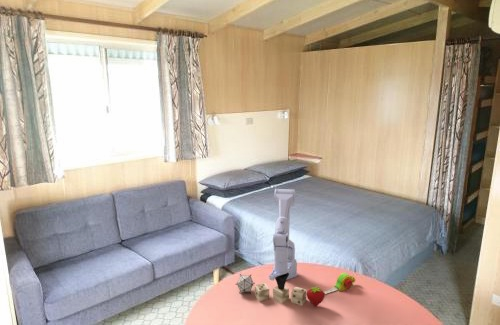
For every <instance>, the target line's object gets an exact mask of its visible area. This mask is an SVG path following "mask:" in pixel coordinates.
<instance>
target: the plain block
mask: <svg viewBox="0 0 500 325" xmlns="http://www.w3.org/2000/svg"><path fill="white" fill-rule="evenodd" d="M272 299H273V300H275V301H276V302H278V303H280V304H283V303H285V302H286V301H288V300H289V299H290V287H287V286H286V285H285V286H284V289H283V290H281V289H278V285H277V286H275V287H273V288H272Z"/></svg>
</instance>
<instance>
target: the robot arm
mask: <svg viewBox="0 0 500 325" xmlns="http://www.w3.org/2000/svg"><path fill="white" fill-rule="evenodd" d="M273 198H274V199H273V200H274V203H275V205H276V206H278V217H277V219H276V221H275V228H274V229H275V231H274V233H273V237H272V245H273V253H274V254H273V257H274V258H273V259H274V265H273V267H272V271H271V272H270V274H269V276H268V279H269V280H271V281H272V282H273V281H276V284H277V286H278V289H281V290H283V289H284V286H285V287H286V282H287V281H288V280H290V279H293V278H295V277H298V275H299V274H298V273H297V271H298V270H297V269H298V268H297V266H298V265H297V263H298V262H297V259H296V258H295V256H296V248H295V242H293V241H292V240H291V239H290V216H291V215H290V213H291V212H290V211H291V207H293V206H295V204H296V190H295V189H294V188H293V189H288V188H284V189H283V188H275V189H274V193H273Z"/></svg>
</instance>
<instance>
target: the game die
mask: <svg viewBox="0 0 500 325" xmlns="http://www.w3.org/2000/svg"><path fill="white" fill-rule="evenodd" d="M235 285H236V286H237V287H238V290H239V294H240V293H249V294H252V292H251V291H252V288H253V286H254V285H256V282H254V281H253V279H252V274H249V275H244V274H243V275H242V274H241V273H239V279H238V281H236V283H235Z"/></svg>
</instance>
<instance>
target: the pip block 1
mask: <svg viewBox="0 0 500 325" xmlns="http://www.w3.org/2000/svg"><path fill="white" fill-rule="evenodd" d="M254 296H255V297H256V300H257V301H258V302H262V301H267V300H270V288H269V286H268V285H267V284H266V282H263V283H259V284H254Z"/></svg>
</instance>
